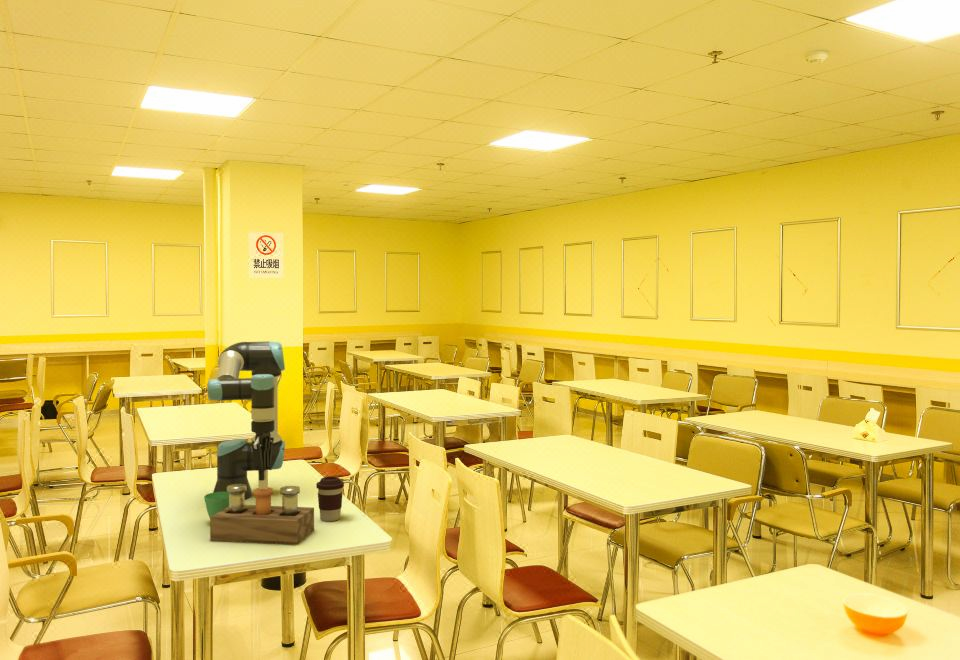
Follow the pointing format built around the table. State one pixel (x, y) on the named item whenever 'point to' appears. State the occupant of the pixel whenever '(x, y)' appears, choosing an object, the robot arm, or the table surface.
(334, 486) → the coffee cup
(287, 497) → the plunger
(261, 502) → the plunger
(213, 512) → the mug
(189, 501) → the table surface
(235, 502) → the plunger
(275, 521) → the brown wooden block
